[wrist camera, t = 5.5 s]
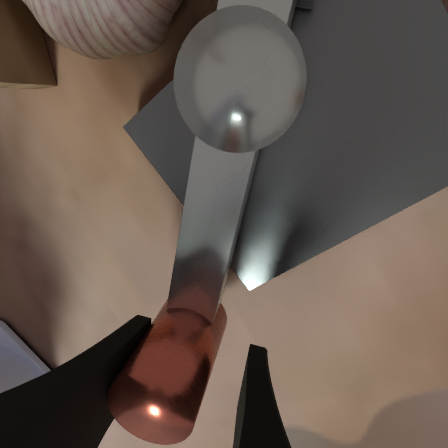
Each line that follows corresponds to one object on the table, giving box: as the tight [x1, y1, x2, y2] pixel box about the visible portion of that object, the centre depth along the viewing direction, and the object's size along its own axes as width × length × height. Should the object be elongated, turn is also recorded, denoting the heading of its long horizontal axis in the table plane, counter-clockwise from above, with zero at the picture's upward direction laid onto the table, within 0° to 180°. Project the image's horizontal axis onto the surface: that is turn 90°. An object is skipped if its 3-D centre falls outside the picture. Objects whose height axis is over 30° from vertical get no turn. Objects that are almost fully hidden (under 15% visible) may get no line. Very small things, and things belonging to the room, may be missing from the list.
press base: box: [123, 0, 448, 291], centre depth 12 cm, size 11×9×2 cm
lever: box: [107, 0, 315, 445], centre depth 10 cm, size 16×4×6 cm, turn 168°
